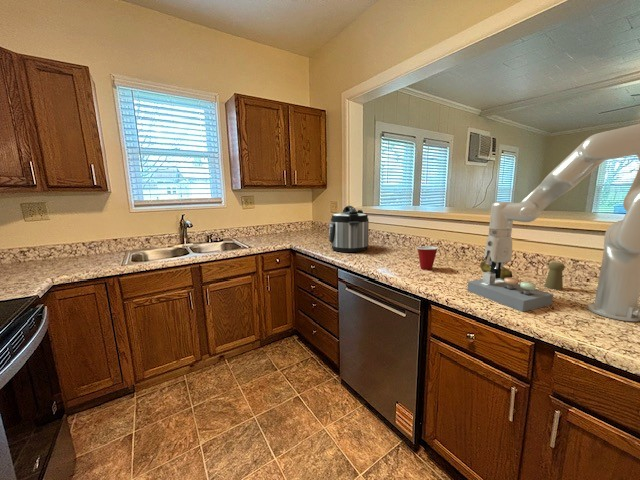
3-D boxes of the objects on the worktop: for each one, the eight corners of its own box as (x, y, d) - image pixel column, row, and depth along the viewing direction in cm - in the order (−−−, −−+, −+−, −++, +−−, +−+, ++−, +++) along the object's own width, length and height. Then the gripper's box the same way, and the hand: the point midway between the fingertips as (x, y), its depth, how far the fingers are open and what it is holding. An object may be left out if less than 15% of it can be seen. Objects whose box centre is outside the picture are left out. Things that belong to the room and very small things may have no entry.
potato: (503, 282, 122) (505, 265, 120) (476, 275, 133) (477, 259, 132) (514, 280, 125) (516, 263, 124) (486, 273, 137) (488, 257, 135)
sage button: (537, 297, 97) (538, 285, 96) (529, 298, 95) (530, 286, 95) (524, 292, 101) (525, 281, 100) (516, 294, 99) (517, 282, 99)
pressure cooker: (339, 244, 216) (339, 204, 211) (373, 247, 203) (374, 205, 198) (322, 251, 190) (321, 206, 185) (360, 255, 177) (361, 207, 172)
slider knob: (494, 283, 108) (495, 273, 107) (489, 284, 107) (490, 274, 106) (487, 280, 111) (488, 271, 110) (482, 281, 110) (483, 272, 109)
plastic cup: (427, 265, 152) (428, 244, 150) (441, 270, 142) (442, 248, 140) (411, 266, 149) (412, 245, 147) (424, 272, 139) (425, 249, 137)
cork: (544, 284, 119) (547, 260, 118) (562, 287, 116) (566, 262, 114) (544, 288, 115) (547, 263, 113) (563, 291, 111) (567, 265, 109)
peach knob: (519, 291, 102) (521, 280, 102) (511, 293, 101) (513, 281, 100) (508, 287, 106) (509, 276, 106) (500, 289, 105) (501, 278, 104)
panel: (551, 304, 98) (553, 293, 97) (522, 311, 92) (523, 300, 92) (494, 285, 118) (495, 276, 117) (467, 290, 113) (468, 281, 112)
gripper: (495, 235, 101) (490, 282, 104) (522, 233, 106) (516, 278, 109) (477, 233, 108) (473, 277, 111) (503, 230, 113) (498, 273, 116)
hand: (494, 277), depth 110 cm, fingers closed
